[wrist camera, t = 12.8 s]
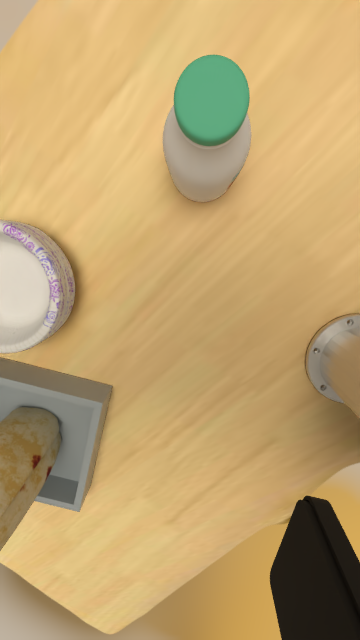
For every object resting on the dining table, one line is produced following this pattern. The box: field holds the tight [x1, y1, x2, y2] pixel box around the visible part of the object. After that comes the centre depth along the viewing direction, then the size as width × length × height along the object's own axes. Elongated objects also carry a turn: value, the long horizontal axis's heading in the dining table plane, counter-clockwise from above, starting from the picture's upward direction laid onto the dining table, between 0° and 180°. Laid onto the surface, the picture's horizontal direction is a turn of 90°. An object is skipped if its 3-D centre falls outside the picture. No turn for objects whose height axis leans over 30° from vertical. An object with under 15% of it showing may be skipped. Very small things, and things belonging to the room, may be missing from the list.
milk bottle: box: [163, 55, 251, 202], centre depth 28 cm, size 8×8×20 cm
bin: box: [0, 357, 112, 512], centre depth 45 cm, size 18×18×5 cm
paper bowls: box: [0, 220, 75, 353], centre depth 39 cm, size 15×15×8 cm
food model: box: [0, 407, 61, 551], centre depth 37 cm, size 10×7×20 cm
